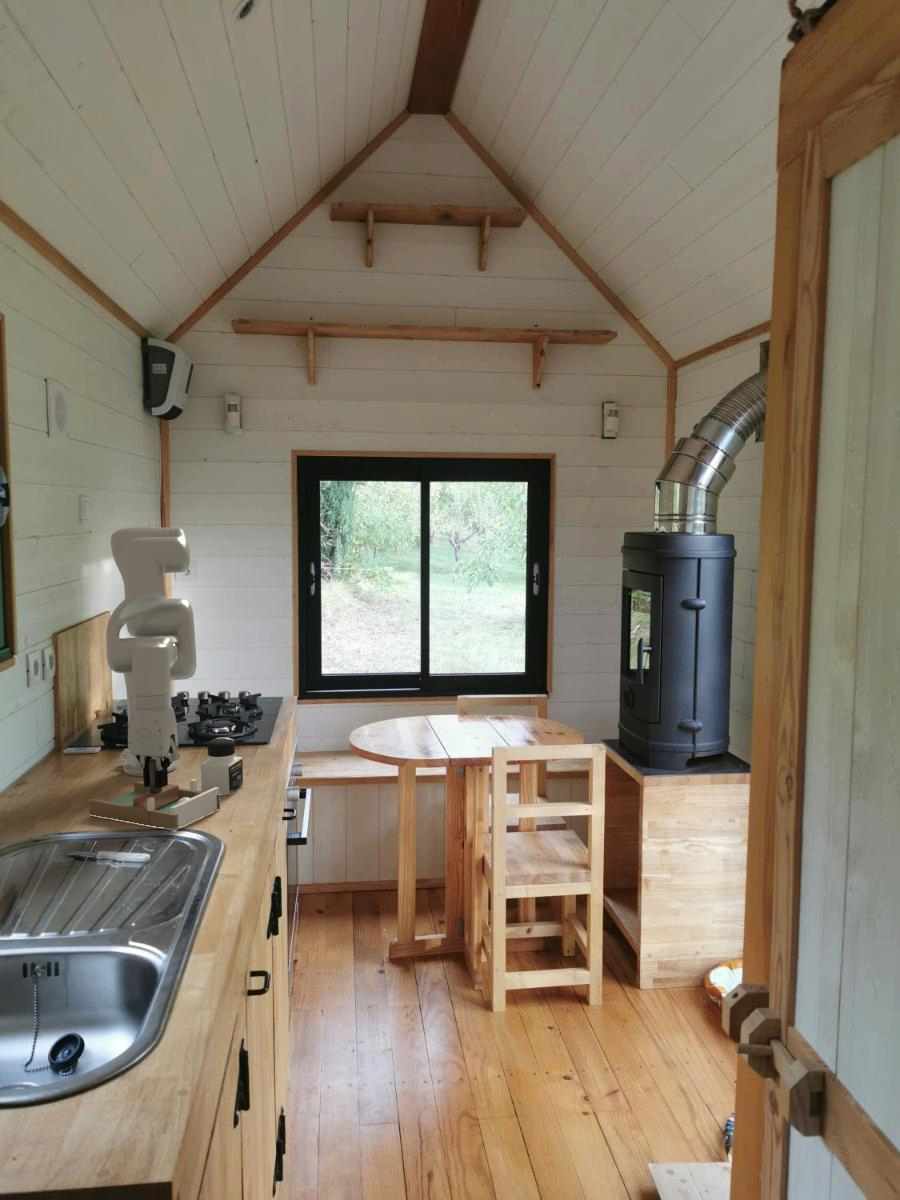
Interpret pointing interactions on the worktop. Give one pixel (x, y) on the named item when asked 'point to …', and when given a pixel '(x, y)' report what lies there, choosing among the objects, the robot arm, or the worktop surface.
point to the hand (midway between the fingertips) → (155, 785)
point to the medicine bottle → (222, 767)
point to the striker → (157, 791)
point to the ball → (182, 800)
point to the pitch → (163, 815)
